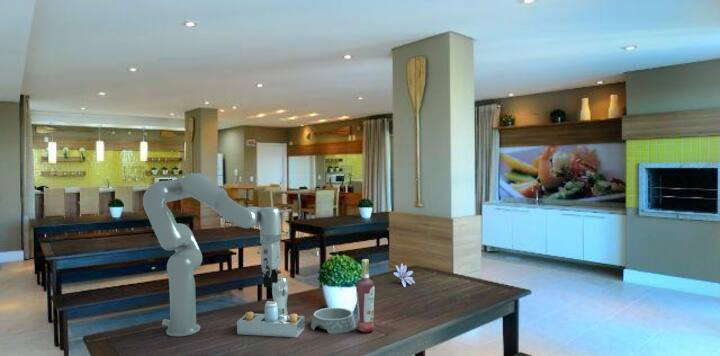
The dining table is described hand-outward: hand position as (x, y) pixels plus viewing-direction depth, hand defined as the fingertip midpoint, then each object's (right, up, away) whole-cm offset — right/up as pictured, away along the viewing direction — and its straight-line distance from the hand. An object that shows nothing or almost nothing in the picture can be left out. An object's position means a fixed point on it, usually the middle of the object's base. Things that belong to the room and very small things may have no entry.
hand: (270, 284), depth 185 cm
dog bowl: (+24, -19, +7) cm, 31 cm away
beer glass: (0, -18, +22) cm, 28 cm away
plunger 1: (-9, -17, +2) cm, 19 cm away
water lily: (+59, -16, +69) cm, 93 cm away
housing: (0, -19, +1) cm, 19 cm away
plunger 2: (+9, -17, -1) cm, 19 cm away
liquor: (+37, -18, +1) cm, 41 cm away
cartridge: (0, -19, +1) cm, 19 cm away
